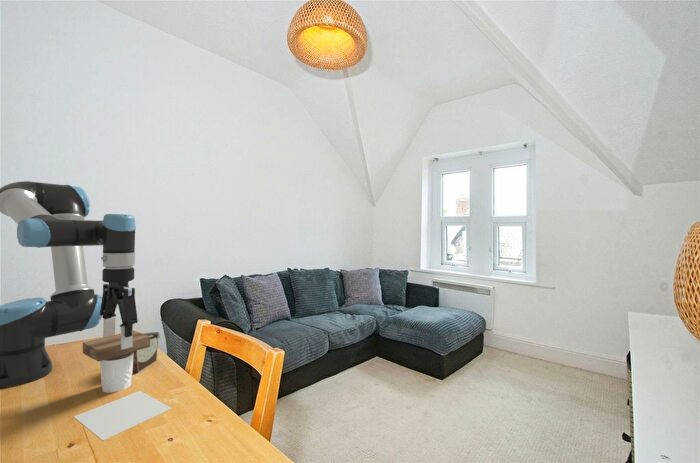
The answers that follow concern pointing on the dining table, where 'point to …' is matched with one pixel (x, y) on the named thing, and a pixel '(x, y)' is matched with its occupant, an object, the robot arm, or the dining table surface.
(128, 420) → the rubber mat
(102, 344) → the walnut board
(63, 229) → the robot arm
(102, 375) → the white cup
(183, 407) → the dining table surface
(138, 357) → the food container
